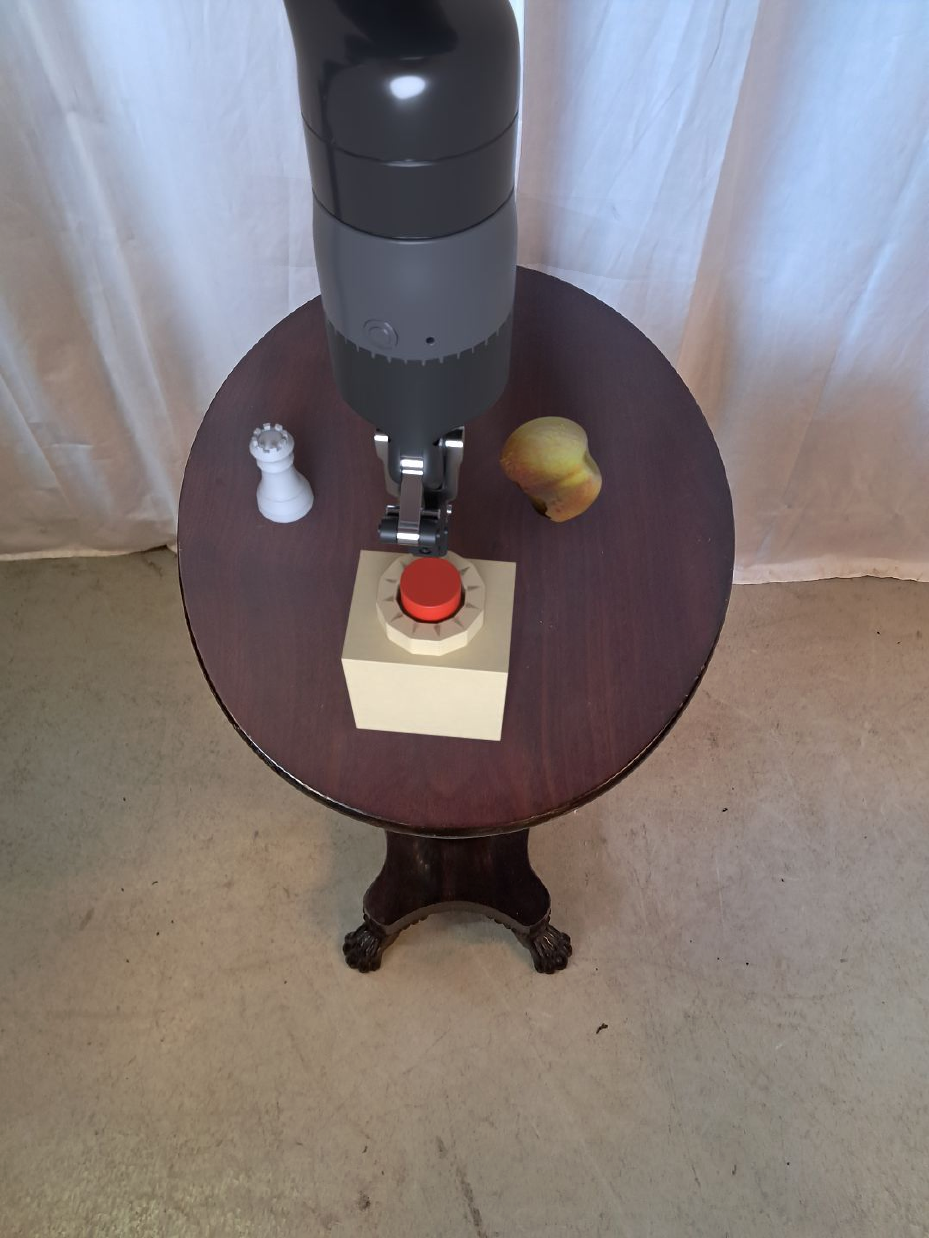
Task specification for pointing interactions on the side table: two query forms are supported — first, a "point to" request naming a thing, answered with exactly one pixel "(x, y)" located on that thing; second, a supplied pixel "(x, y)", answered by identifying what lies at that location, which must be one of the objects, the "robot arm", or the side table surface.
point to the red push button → (430, 589)
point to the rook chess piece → (279, 476)
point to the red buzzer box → (429, 651)
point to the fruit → (552, 466)
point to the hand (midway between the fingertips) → (428, 544)
